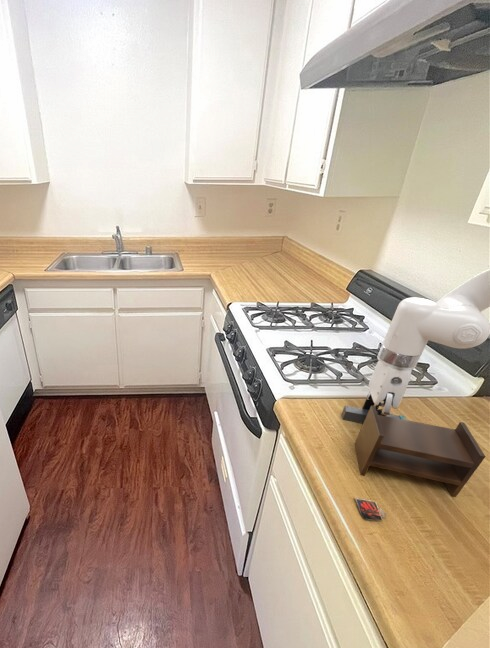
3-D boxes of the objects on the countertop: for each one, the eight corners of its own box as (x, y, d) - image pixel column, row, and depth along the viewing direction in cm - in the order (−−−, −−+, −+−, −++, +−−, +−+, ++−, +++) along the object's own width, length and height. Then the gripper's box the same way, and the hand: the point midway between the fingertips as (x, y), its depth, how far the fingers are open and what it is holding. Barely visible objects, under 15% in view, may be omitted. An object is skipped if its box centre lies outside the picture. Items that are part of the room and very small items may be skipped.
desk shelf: (439, 461, 75) (464, 422, 69) (455, 497, 67) (485, 456, 61) (354, 443, 79) (371, 405, 73) (360, 475, 71) (379, 435, 65)
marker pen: (399, 424, 85) (403, 415, 84) (402, 431, 83) (406, 422, 82) (341, 413, 89) (344, 404, 87) (342, 419, 87) (346, 410, 85)
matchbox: (365, 522, 62) (366, 520, 62) (350, 498, 66) (350, 497, 66) (389, 520, 62) (390, 519, 62) (373, 497, 66) (373, 495, 66)
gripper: (429, 378, 68) (393, 446, 78) (408, 342, 82) (379, 404, 92) (387, 371, 70) (357, 438, 80) (373, 337, 83) (349, 398, 94)
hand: (369, 419), depth 86 cm, fingers open, 4 cm apart
